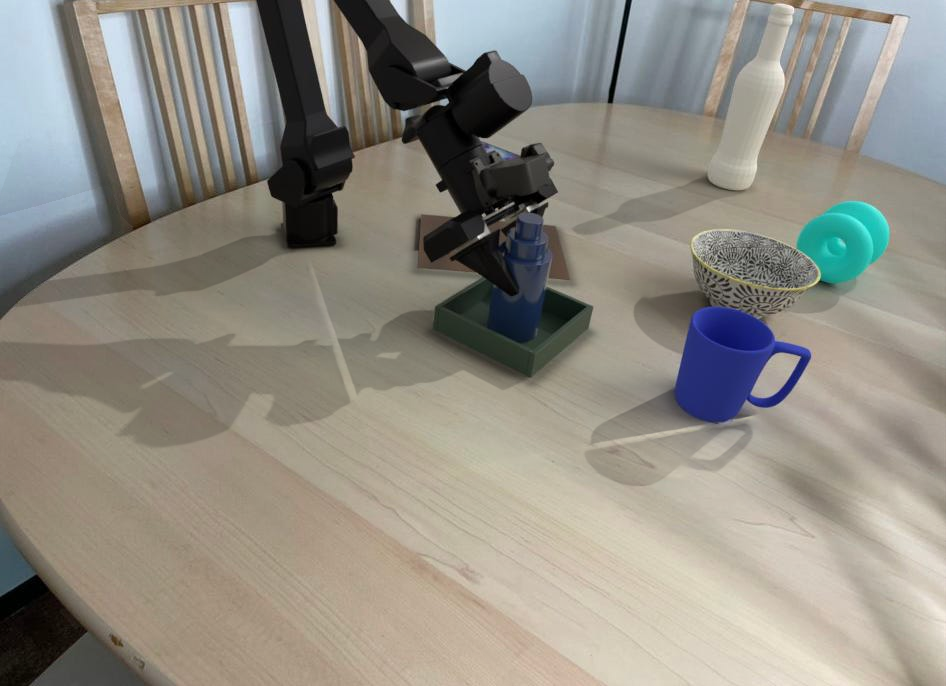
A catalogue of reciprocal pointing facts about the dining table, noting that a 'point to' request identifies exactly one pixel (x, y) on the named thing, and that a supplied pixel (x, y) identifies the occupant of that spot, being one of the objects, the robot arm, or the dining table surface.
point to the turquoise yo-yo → (844, 240)
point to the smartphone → (500, 151)
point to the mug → (729, 364)
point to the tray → (468, 326)
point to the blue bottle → (522, 281)
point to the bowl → (750, 271)
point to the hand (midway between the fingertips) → (530, 284)
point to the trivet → (553, 244)
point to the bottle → (752, 107)
